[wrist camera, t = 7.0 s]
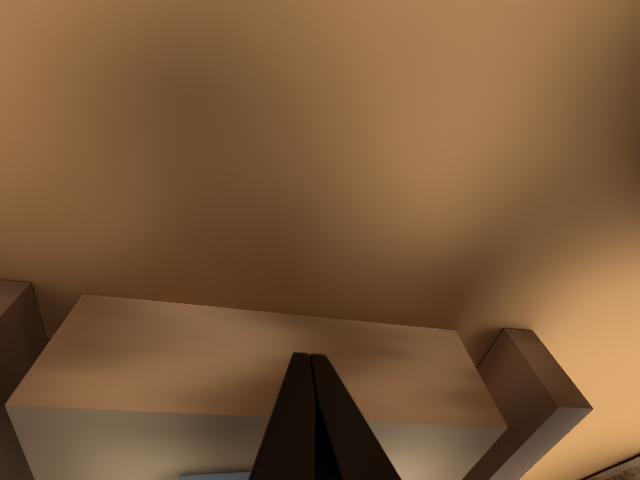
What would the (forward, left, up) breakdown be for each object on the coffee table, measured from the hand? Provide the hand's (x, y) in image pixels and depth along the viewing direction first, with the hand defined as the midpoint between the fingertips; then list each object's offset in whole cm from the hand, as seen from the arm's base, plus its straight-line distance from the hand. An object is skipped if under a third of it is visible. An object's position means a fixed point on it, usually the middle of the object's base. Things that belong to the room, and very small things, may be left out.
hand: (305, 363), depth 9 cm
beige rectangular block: (0, +6, -3) cm, 7 cm away
